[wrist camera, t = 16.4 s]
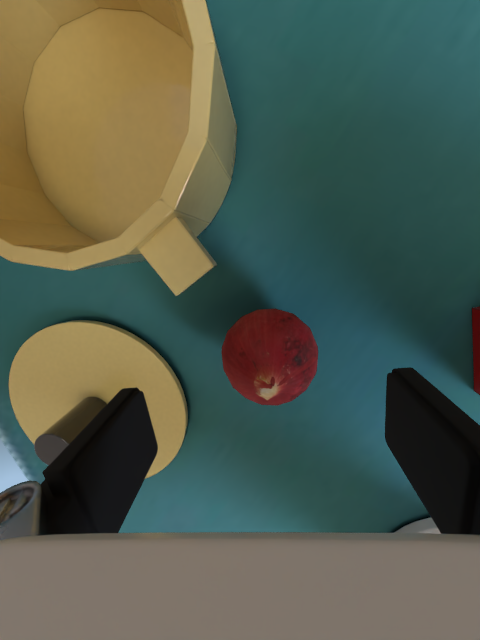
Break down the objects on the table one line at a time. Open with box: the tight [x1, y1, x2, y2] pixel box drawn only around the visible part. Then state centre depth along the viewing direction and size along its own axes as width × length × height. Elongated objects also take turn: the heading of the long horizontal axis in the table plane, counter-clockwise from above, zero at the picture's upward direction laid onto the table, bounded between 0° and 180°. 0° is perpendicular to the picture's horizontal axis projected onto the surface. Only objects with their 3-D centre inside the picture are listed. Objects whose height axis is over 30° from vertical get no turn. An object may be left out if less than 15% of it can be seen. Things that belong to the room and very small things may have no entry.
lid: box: [9, 320, 188, 479], centre depth 20 cm, size 16×16×6 cm
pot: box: [0, 0, 237, 296], centre depth 13 cm, size 15×20×8 cm
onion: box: [222, 309, 318, 405], centre depth 16 cm, size 6×6×8 cm
